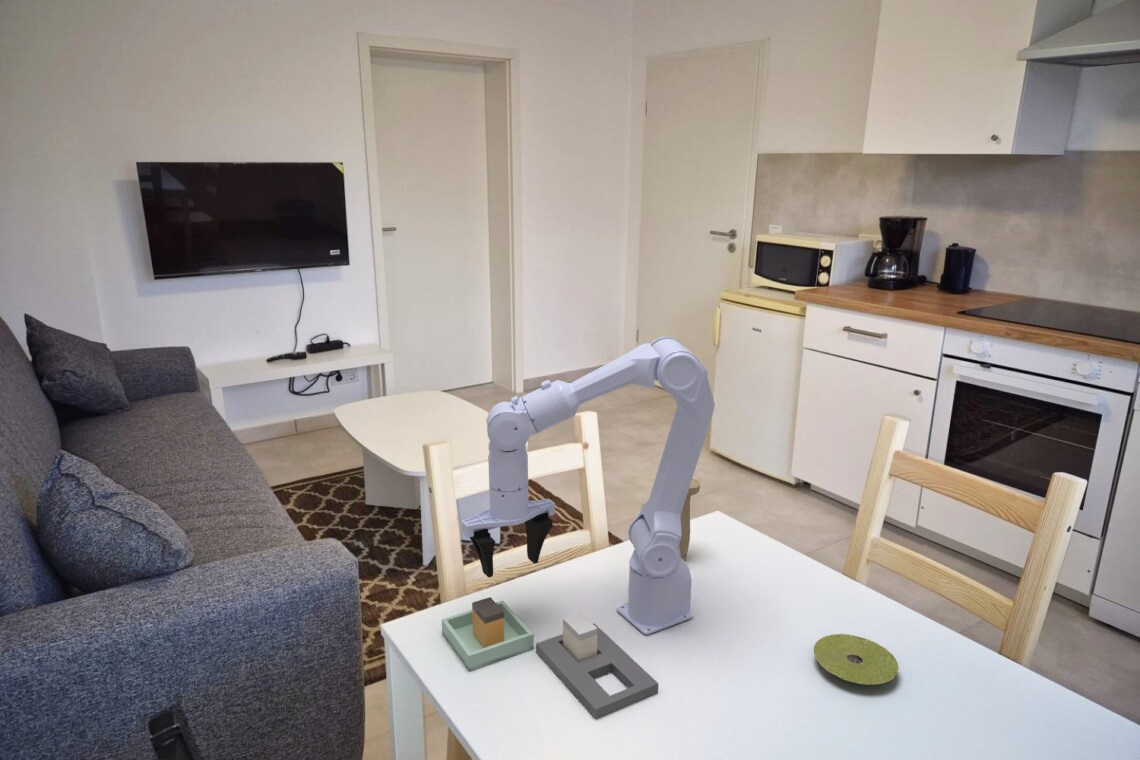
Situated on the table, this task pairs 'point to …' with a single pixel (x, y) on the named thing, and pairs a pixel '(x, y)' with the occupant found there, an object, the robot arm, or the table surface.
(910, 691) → the table surface
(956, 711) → the table surface
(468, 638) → the parts tray
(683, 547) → the handle
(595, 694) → the block
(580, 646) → the block
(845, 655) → the green sanding disc
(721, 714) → the table surface
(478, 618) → the block
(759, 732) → the table surface
